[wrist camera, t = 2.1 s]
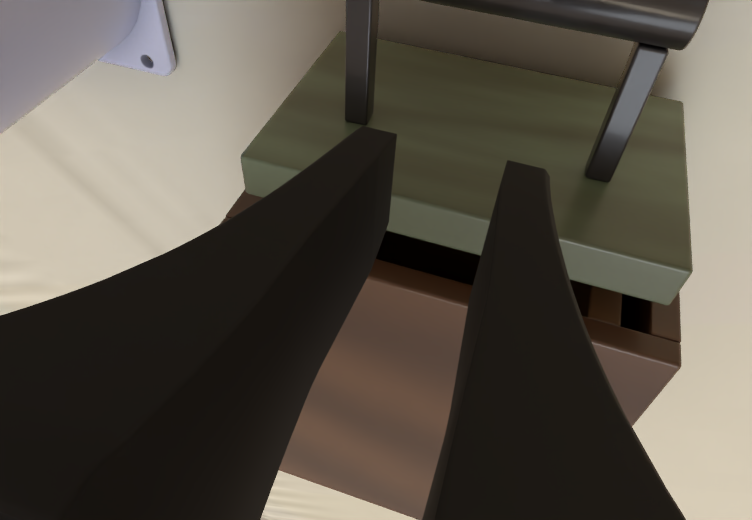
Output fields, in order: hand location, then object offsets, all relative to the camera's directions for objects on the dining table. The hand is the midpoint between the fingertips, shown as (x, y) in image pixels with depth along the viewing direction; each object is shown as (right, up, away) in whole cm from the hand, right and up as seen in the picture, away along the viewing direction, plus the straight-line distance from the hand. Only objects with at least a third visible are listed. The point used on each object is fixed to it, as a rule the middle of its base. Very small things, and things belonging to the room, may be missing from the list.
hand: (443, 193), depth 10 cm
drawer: (+2, +2, +10) cm, 11 cm away
